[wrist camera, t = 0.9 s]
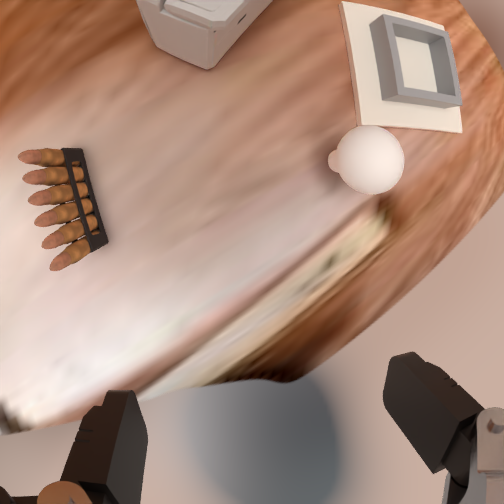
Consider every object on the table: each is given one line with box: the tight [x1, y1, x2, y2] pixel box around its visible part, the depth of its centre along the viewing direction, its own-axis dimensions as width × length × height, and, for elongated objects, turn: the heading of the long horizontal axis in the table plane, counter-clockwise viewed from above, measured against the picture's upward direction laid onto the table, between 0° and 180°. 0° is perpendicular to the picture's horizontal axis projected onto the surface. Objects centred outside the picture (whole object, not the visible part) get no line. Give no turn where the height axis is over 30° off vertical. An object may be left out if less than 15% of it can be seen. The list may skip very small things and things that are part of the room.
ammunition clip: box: [18, 148, 109, 271], centre depth 25 cm, size 11×2×12 cm, turn 14°
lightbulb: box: [328, 125, 404, 195], centre depth 28 cm, size 6×6×11 cm
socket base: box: [338, 1, 462, 134], centre depth 29 cm, size 16×16×5 cm
